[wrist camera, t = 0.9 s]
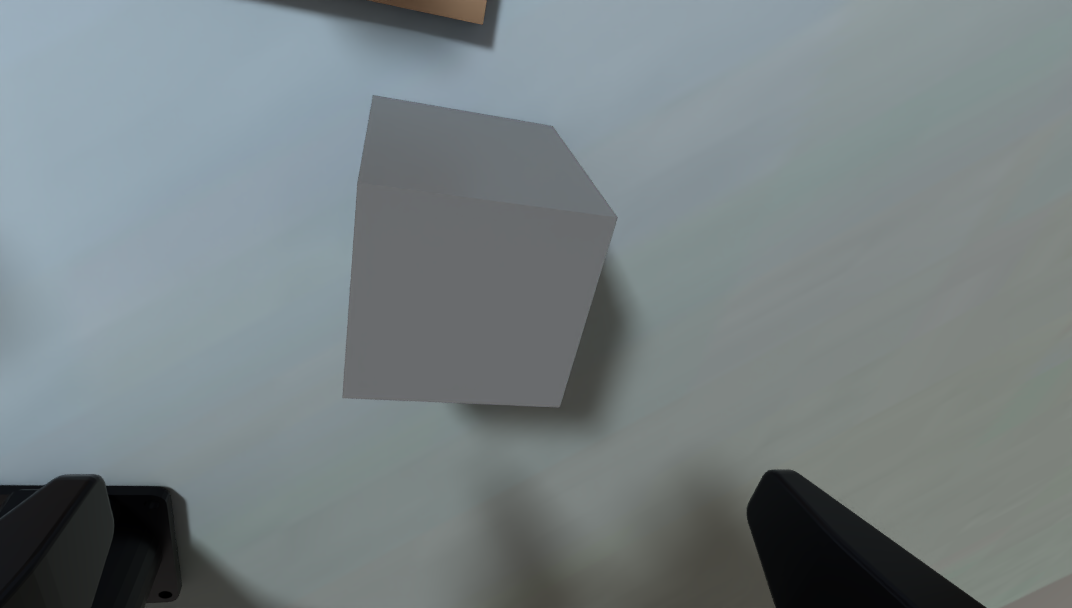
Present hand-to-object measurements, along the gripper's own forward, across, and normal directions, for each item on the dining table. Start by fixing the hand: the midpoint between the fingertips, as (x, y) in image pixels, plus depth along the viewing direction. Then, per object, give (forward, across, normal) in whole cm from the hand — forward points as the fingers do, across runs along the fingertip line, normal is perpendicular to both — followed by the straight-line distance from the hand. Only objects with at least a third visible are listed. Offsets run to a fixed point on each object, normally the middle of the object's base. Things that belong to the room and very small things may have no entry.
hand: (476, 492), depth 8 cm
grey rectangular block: (+12, -1, 0) cm, 12 cm away
